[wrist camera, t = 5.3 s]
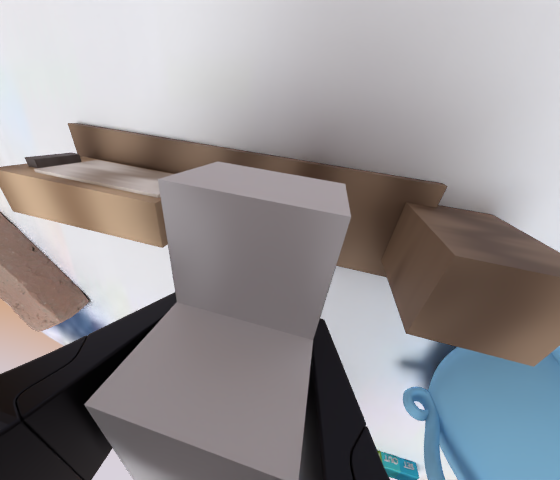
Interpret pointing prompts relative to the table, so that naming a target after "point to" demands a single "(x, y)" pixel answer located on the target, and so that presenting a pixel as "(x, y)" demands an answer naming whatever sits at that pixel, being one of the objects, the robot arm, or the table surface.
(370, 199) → the wooden shelf
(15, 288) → the brick
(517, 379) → the decorative pot
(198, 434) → the white chair-shaped block
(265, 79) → the table surface
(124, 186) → the wall mounted shelf tray
